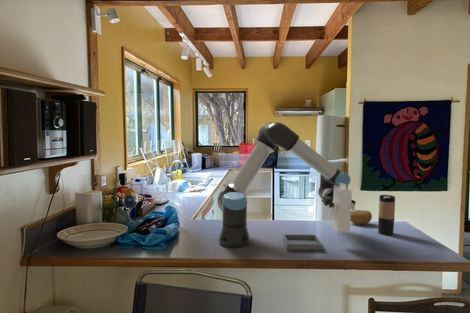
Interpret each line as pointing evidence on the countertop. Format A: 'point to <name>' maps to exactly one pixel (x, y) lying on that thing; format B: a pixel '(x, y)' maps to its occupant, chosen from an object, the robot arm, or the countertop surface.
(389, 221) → the travel mug
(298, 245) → the tray
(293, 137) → the robot arm
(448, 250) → the countertop surface
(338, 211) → the milk
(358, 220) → the potato
